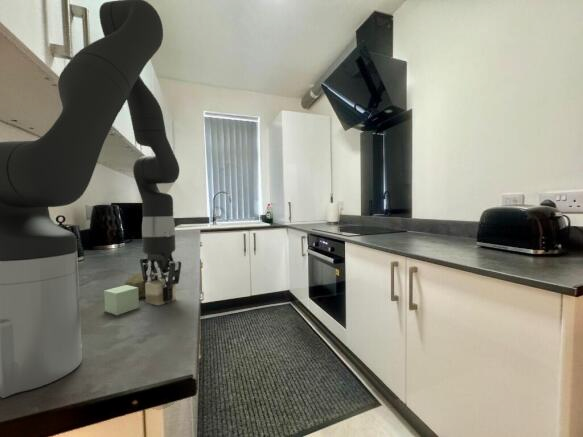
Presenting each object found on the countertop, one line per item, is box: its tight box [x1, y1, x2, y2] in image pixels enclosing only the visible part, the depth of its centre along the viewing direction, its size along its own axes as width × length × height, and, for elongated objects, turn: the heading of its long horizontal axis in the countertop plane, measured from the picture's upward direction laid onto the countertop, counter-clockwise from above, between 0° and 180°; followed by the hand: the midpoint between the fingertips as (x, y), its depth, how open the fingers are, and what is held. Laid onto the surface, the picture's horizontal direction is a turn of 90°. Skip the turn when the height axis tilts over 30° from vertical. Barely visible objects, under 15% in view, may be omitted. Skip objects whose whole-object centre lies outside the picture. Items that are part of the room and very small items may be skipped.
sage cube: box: [103, 284, 140, 316], centre depth 61 cm, size 5×5×5 cm
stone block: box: [124, 272, 148, 299], centre depth 74 cm, size 6×12×5 cm, turn 24°
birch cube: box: [145, 278, 177, 307], centre depth 67 cm, size 5×5×5 cm
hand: (161, 298), depth 67 cm, fingers closed on birch cube, 5 cm apart
